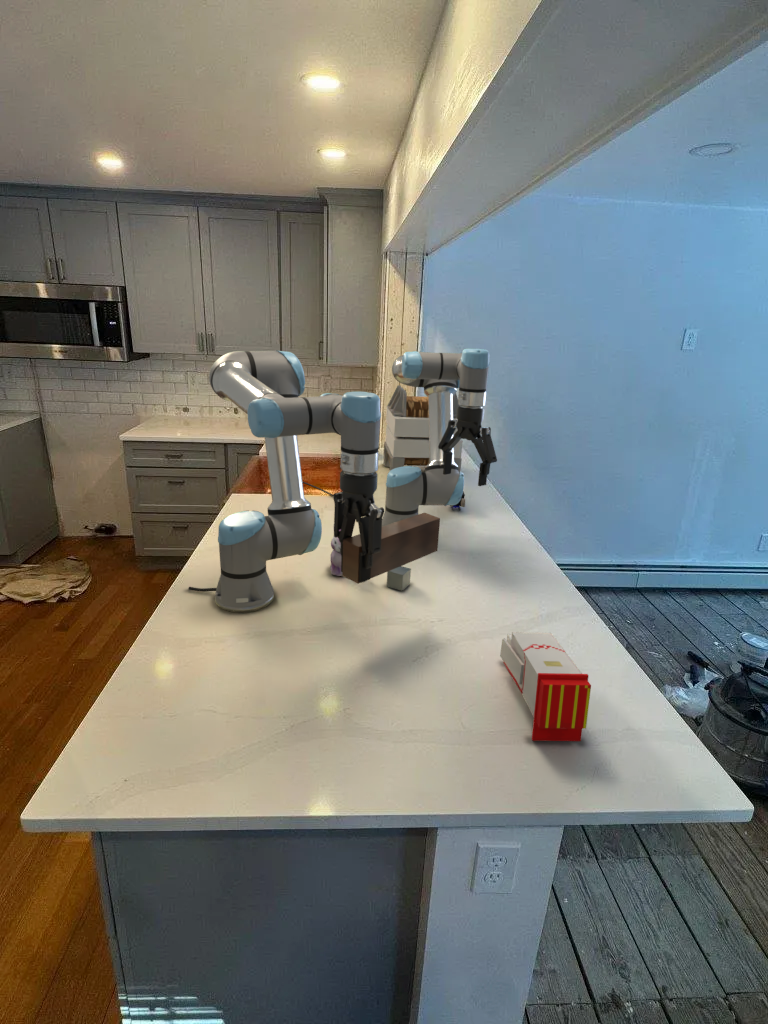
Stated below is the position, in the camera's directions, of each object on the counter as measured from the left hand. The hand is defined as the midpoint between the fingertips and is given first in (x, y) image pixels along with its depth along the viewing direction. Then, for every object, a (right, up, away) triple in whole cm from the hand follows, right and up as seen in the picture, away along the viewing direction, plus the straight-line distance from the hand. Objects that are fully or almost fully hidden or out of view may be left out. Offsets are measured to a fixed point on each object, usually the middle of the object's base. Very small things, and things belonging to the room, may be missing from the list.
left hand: (355, 575), depth 122 cm
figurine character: (+35, +16, +108) cm, 115 cm away
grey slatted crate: (+23, +32, +153) cm, 158 cm away
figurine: (-6, -4, +49) cm, 49 cm away
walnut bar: (+8, +2, +8) cm, 11 cm away
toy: (+38, -25, -3) cm, 45 cm away
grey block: (+10, -7, +41) cm, 43 cm away
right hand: (+29, +23, +44) cm, 58 cm away
